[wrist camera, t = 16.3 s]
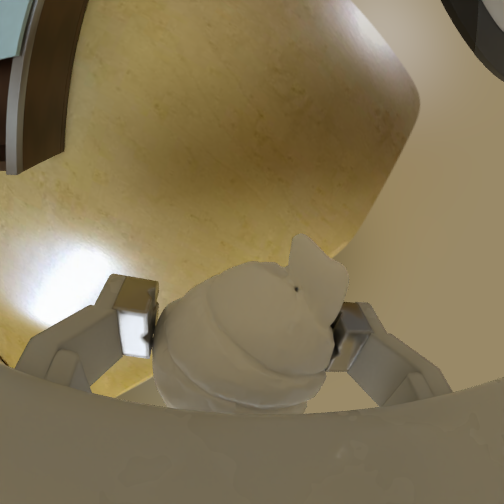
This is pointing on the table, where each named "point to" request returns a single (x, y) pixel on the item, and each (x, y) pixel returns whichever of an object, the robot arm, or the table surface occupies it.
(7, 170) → the sliding lid box
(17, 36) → the sliding box lid
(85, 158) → the table surface
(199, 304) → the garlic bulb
